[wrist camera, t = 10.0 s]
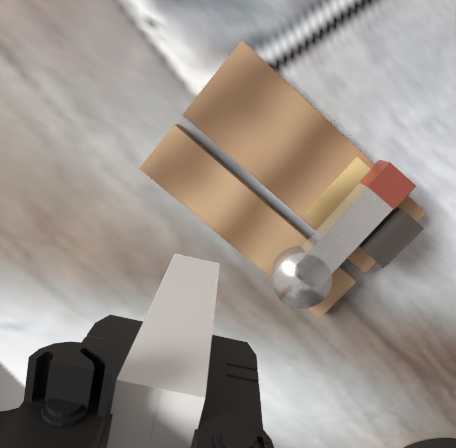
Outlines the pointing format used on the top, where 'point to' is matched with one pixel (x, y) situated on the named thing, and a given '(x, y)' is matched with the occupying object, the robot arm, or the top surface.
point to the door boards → (271, 170)
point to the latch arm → (338, 237)
